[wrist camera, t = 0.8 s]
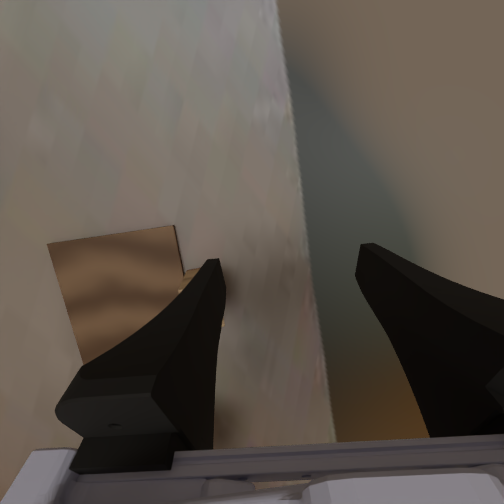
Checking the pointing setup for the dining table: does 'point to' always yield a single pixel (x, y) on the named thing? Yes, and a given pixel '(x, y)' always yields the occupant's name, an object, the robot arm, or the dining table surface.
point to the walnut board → (116, 284)
